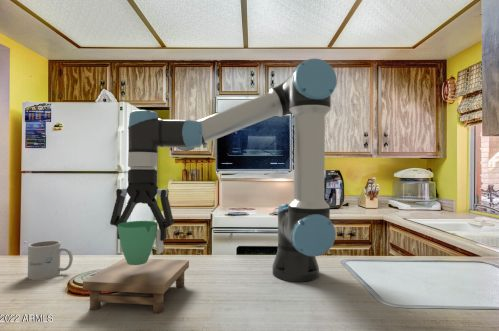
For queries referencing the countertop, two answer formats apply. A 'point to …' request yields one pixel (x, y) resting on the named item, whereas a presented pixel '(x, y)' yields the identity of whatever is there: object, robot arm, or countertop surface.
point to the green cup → (137, 240)
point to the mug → (46, 259)
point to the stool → (136, 282)
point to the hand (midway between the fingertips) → (141, 251)
